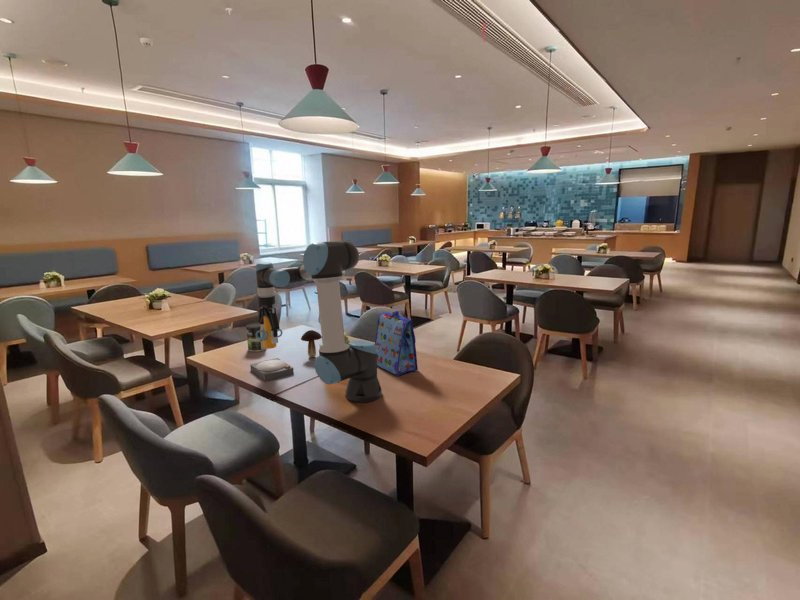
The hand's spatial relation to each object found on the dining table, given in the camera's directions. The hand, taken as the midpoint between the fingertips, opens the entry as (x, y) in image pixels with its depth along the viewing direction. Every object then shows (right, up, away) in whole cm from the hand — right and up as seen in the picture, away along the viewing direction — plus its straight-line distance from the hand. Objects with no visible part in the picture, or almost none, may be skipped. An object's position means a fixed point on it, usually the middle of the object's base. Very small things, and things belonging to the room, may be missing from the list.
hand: (269, 340), depth 190 cm
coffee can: (-19, -9, +37) cm, 43 cm away
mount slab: (0, -16, +3) cm, 16 cm away
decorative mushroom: (+15, -12, +24) cm, 30 cm away
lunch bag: (+60, -15, +9) cm, 62 cm away
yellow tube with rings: (0, -4, +1) cm, 4 cm away
